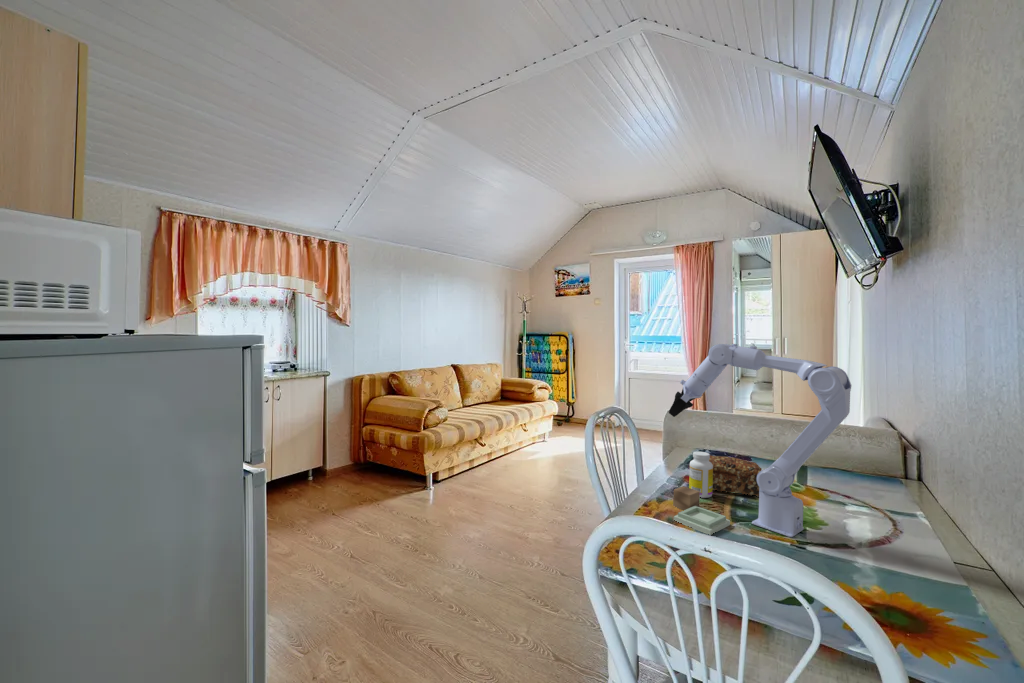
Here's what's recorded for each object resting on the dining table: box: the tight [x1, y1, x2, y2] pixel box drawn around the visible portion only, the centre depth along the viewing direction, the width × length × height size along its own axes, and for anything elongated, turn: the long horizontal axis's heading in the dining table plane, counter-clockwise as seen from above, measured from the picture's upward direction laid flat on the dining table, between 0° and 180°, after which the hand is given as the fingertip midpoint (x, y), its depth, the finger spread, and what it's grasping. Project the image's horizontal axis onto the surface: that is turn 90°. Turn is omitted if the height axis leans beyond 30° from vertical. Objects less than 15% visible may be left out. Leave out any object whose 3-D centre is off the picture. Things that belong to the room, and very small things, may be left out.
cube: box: [672, 485, 700, 511], centre depth 124 cm, size 5×5×5 cm
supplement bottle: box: [688, 451, 714, 499], centre depth 134 cm, size 7×7×13 cm
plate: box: [673, 506, 731, 536], centre depth 114 cm, size 10×10×2 cm
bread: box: [709, 455, 763, 497], centre depth 140 cm, size 19×11×10 cm, turn 66°
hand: (674, 410), depth 133 cm, fingers open, 7 cm apart
